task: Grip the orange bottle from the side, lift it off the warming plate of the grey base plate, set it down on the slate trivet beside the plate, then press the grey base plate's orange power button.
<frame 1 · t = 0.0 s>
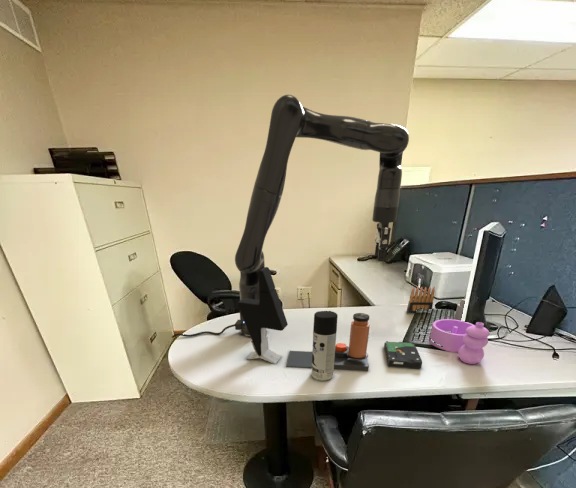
hand: (379, 258, 111), 29 cm above the table, tool pointing down, fingers open, 8 cm apart
grey base plate: (345, 362, 108), on the table
disk drive: (401, 358, 111), on the table
award: (264, 358, 111), on the table
spray can: (322, 376, 101), on the table
power button: (341, 347, 108), point 4 cm above the table, slide at 0.2 cm
ammunition clip: (418, 313, 149), on the table
trivet: (304, 360, 110), on the table
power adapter: (460, 322, 138), on the table
orange bottle: (357, 354, 105), point 4 cm above the table, touching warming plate
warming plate: (357, 355, 105), resting on grey base plate
container set: (457, 349, 116), on the table
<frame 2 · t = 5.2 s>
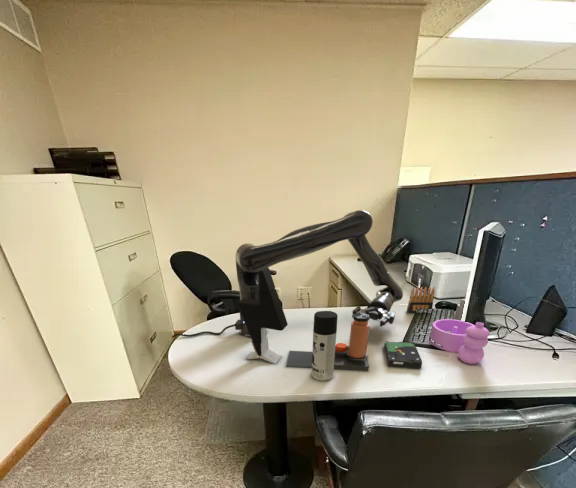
hand: (368, 321, 109), 11 cm above the table, tool horizontal, fingers open, 8 cm apart
nothing on the table moved.
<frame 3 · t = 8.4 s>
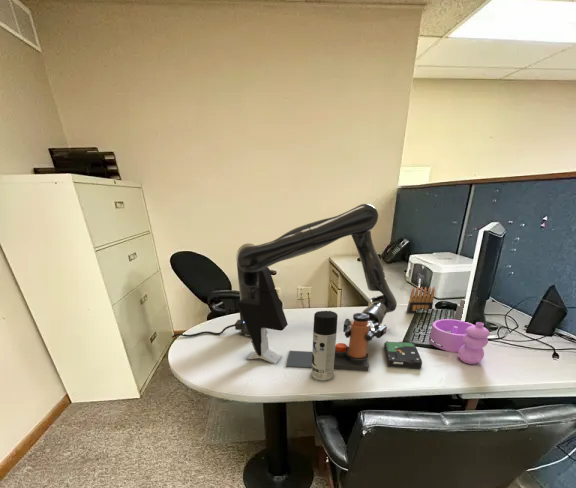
hand: (357, 336, 99), 11 cm above the table, tool horizontal, fingers closed on orange bottle, 5 cm apart
orange bottle: (357, 354, 104), point 4 cm above the table, touching gripper, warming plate
everything else where it was.
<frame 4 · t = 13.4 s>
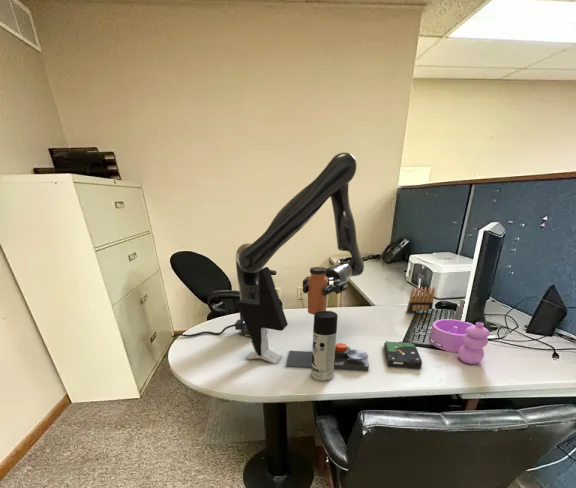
hand: (314, 291, 95), 24 cm above the table, tool horizontal, fingers closed on orange bottle, 5 cm apart
orange bottle: (316, 311, 100), point 17 cm above the table, touching gripper
everything else where it was.
when the fingers open (8 cm above the table, at t = 18.6 s): orange bottle stays where it is, resting on trivet.
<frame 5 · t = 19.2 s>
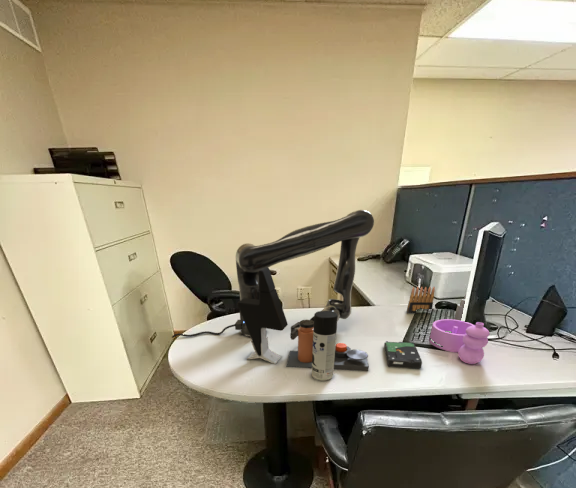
hand: (303, 339, 104), 8 cm above the table, tool horizontal, fingers open, 8 cm apart
orange bottle: (306, 358, 109), resting on trivet
everything else where it was.
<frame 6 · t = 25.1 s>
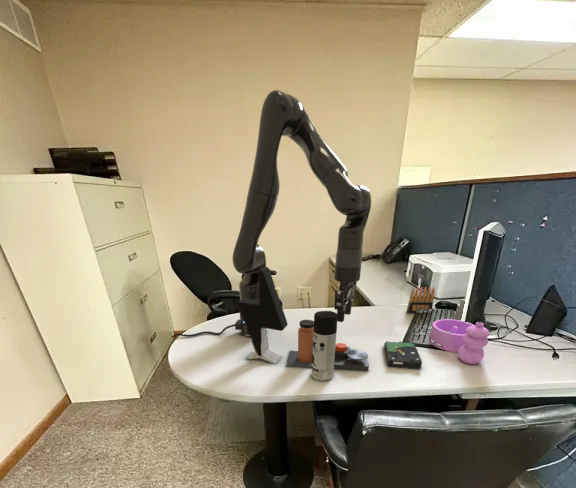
hand: (343, 317, 103), 15 cm above the table, tool pointing down, fingers open, 6 cm apart
nothing on the table moved.
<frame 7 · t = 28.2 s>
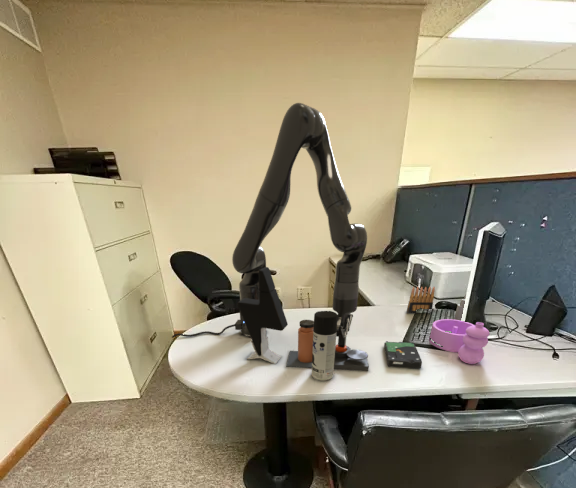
hand: (341, 346, 108), 5 cm above the table, tool pointing down, fingers closed
power button: (341, 348, 109), point 4 cm above the table, slide at -0.2 cm, touching gripper
everything else where it was.
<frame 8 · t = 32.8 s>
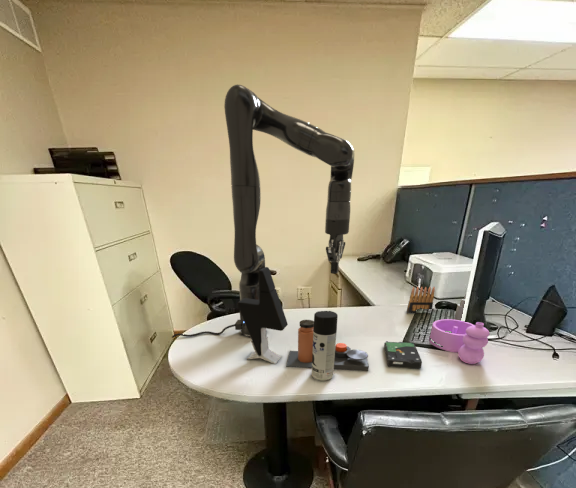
hand: (334, 273, 111), 25 cm above the table, tool pointing down, fingers closed
power button: (341, 347, 108), point 4 cm above the table, slide at 0.2 cm
everything else where it was.
at the end: orange bottle inside the target area on the trivet (0.6 cm from its centre), point 0.5 cm above the trivet's base; orange bottle tilted 0°; power button pushed in 1.0 cm at the most during the clip, back to 0.2 cm at the end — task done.
